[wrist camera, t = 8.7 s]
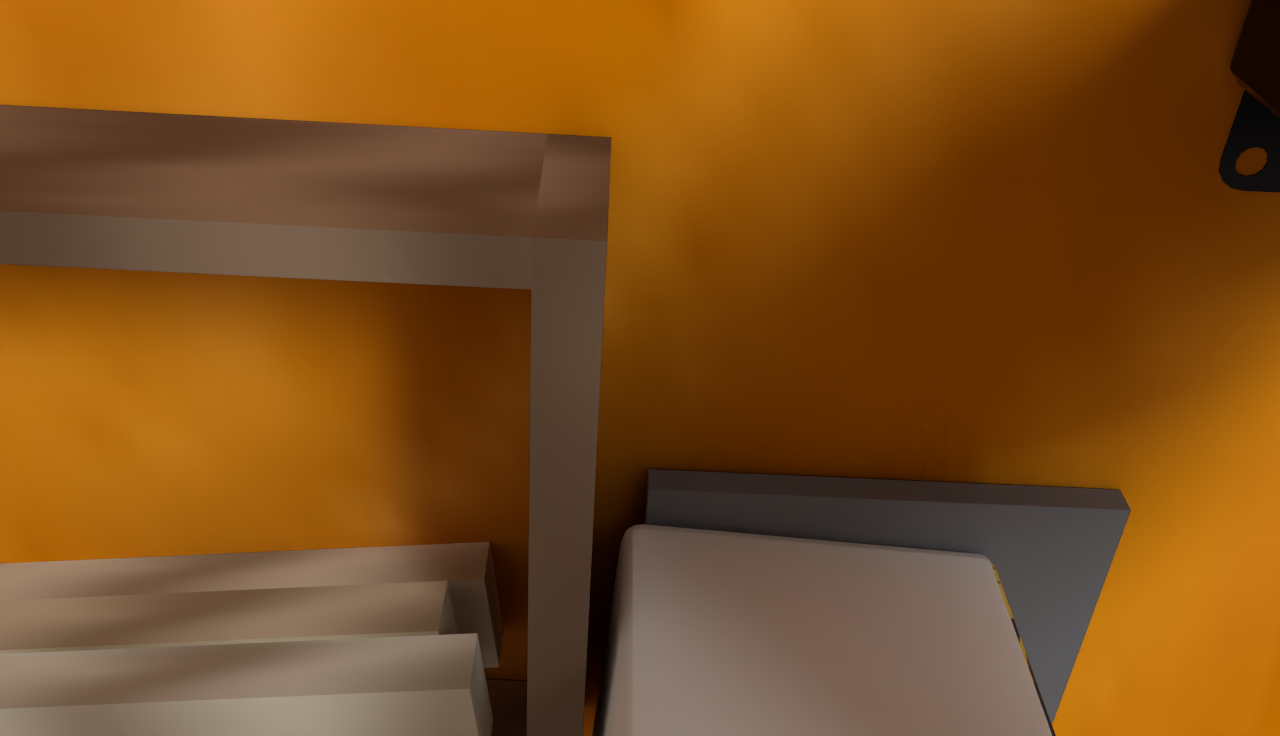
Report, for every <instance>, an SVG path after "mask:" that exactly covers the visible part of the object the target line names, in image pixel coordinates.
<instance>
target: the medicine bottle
mask: <svg viewBox="0 0 1280 736" xmlns="http://www.w3.org/2000/svg"><path fill="white" fill-rule="evenodd" d="M592 736H1056V735H1055V732H1054V730H1053V727H1052V724H1051V721H1050V718H1049V716H1048V713H1047V710H1046V707H1045V705H1044V702H1043V699H1042V696H1041V693H1040V691H1039V688H1038V685H1037V682H1036V679H1035V677H1034V674H1033V671H1032V668H1031V665H1030V663H1029V660H1028V657H1027V654H1026V652H1025V649H1024V646H1023V643H1022V640H1021V638H1020V635H1019V632H1018V629H1017V626H1016V624H1015V621H1014V618H1013V615H1012V612H1011V610H1010V607H1009V604H1008V601H1007V599H1006V596H1005V593H1004V590H1003V587H1002V585H1001V582H1000V579H999V576H998V573H997V571H996V568H995V566H994V565H993V564H992V563H991V562H990V560H989V559H988V558H987V557H986V556H983V555H980V554H974V553H962V552H951V551H940V550H928V549H917V548H906V547H894V546H883V545H872V544H860V543H849V542H838V541H827V540H815V539H804V538H793V537H781V536H770V535H759V534H747V533H736V532H725V531H713V530H702V529H691V528H679V527H668V526H657V525H646V524H641V525H634V526H632V527H630V528H629V529H627V530H626V532H625V534H624V536H623V538H622V541H621V544H620V551H619V558H618V565H617V572H616V578H615V585H614V592H613V599H612V605H611V612H610V619H609V626H608V633H607V639H606V646H605V653H604V660H603V667H602V673H601V680H600V687H599V694H598V700H597V707H596V714H595V721H594V728H593V734H592Z"/></svg>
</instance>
